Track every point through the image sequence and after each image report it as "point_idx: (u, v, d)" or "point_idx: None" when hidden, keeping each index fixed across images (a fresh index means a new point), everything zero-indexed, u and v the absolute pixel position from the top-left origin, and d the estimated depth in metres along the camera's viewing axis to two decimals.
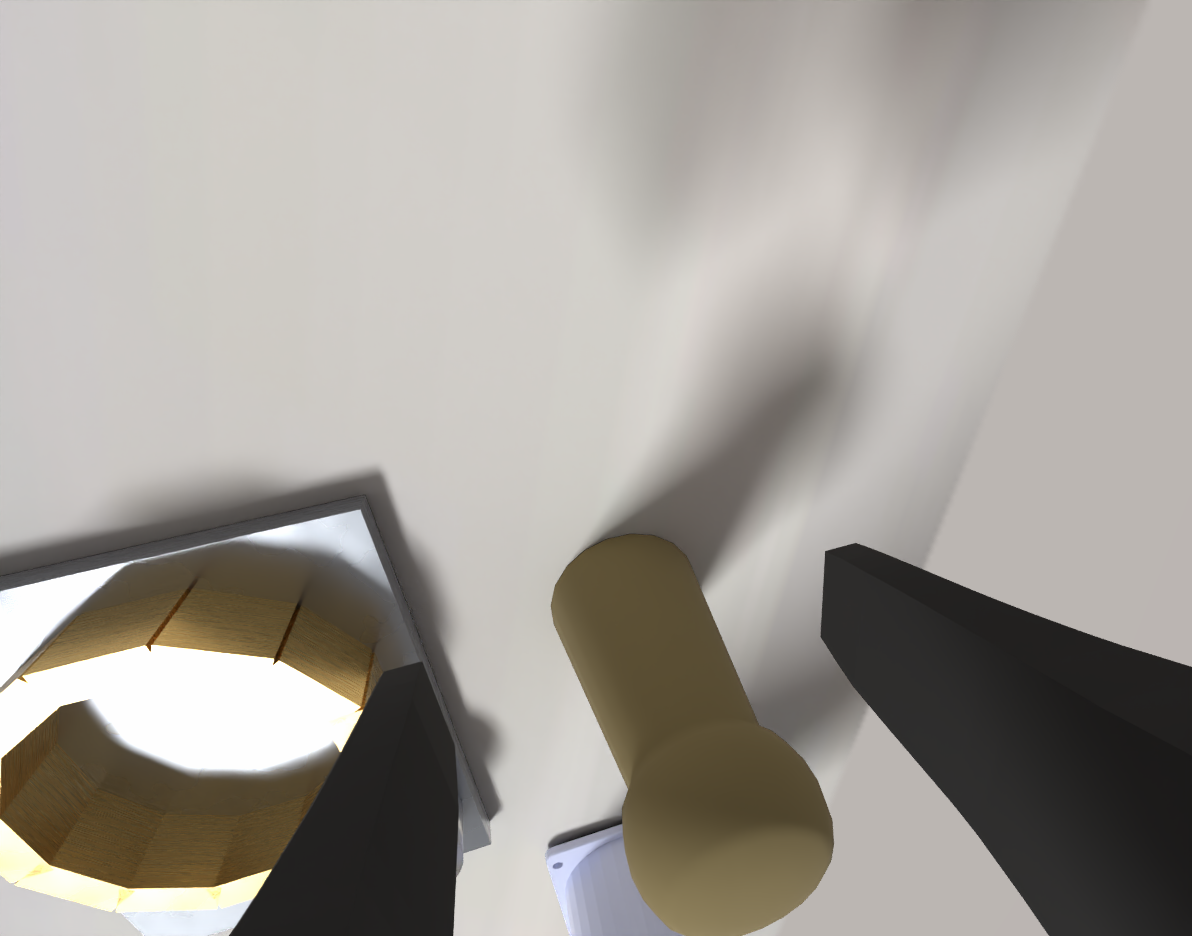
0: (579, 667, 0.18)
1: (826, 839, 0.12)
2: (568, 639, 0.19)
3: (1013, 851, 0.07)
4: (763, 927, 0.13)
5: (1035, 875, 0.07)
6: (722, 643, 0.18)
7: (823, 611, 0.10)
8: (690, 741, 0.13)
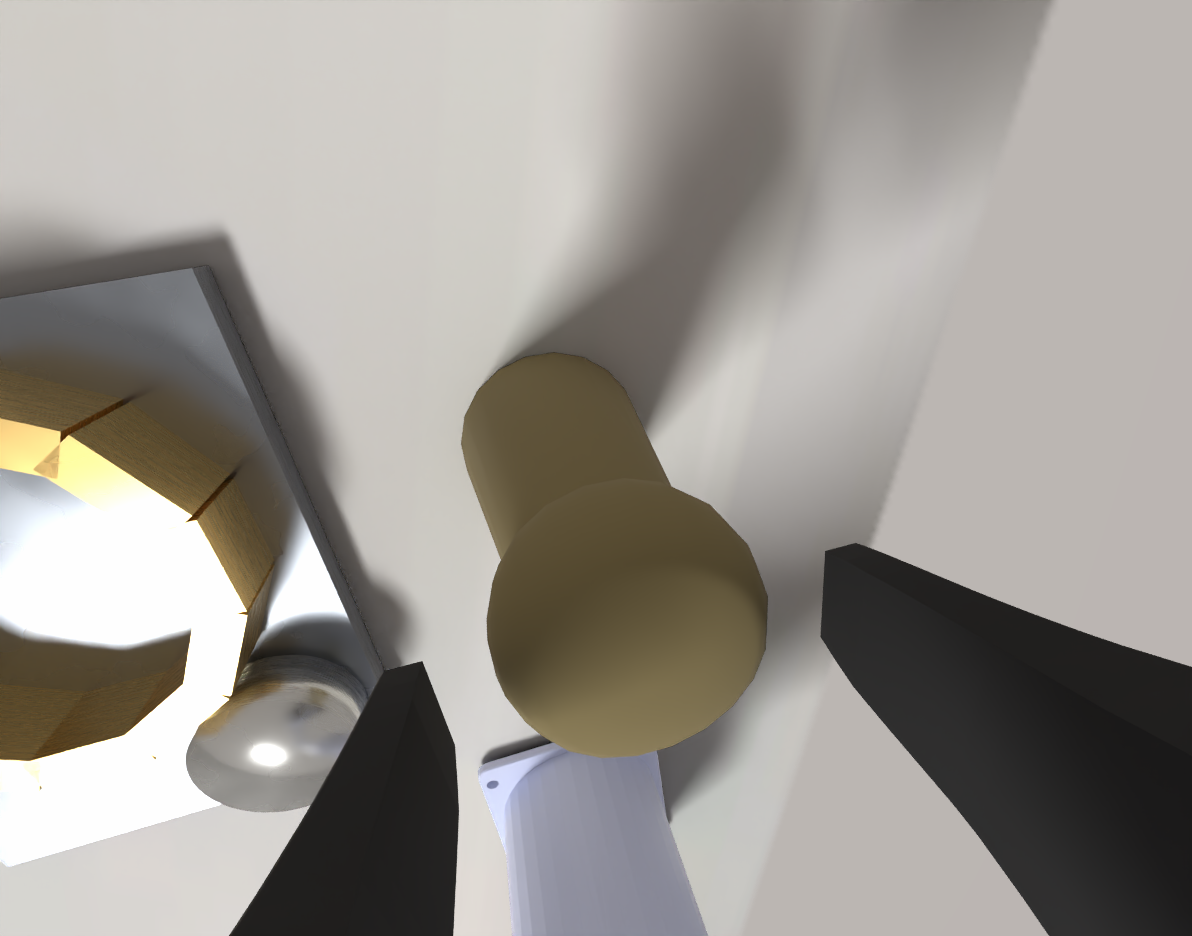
0: (478, 486, 0.15)
1: (753, 603, 0.09)
2: (471, 464, 0.16)
3: (1013, 851, 0.07)
4: (675, 743, 0.10)
5: (1035, 875, 0.07)
6: (651, 447, 0.14)
7: (823, 611, 0.10)
8: (575, 491, 0.10)
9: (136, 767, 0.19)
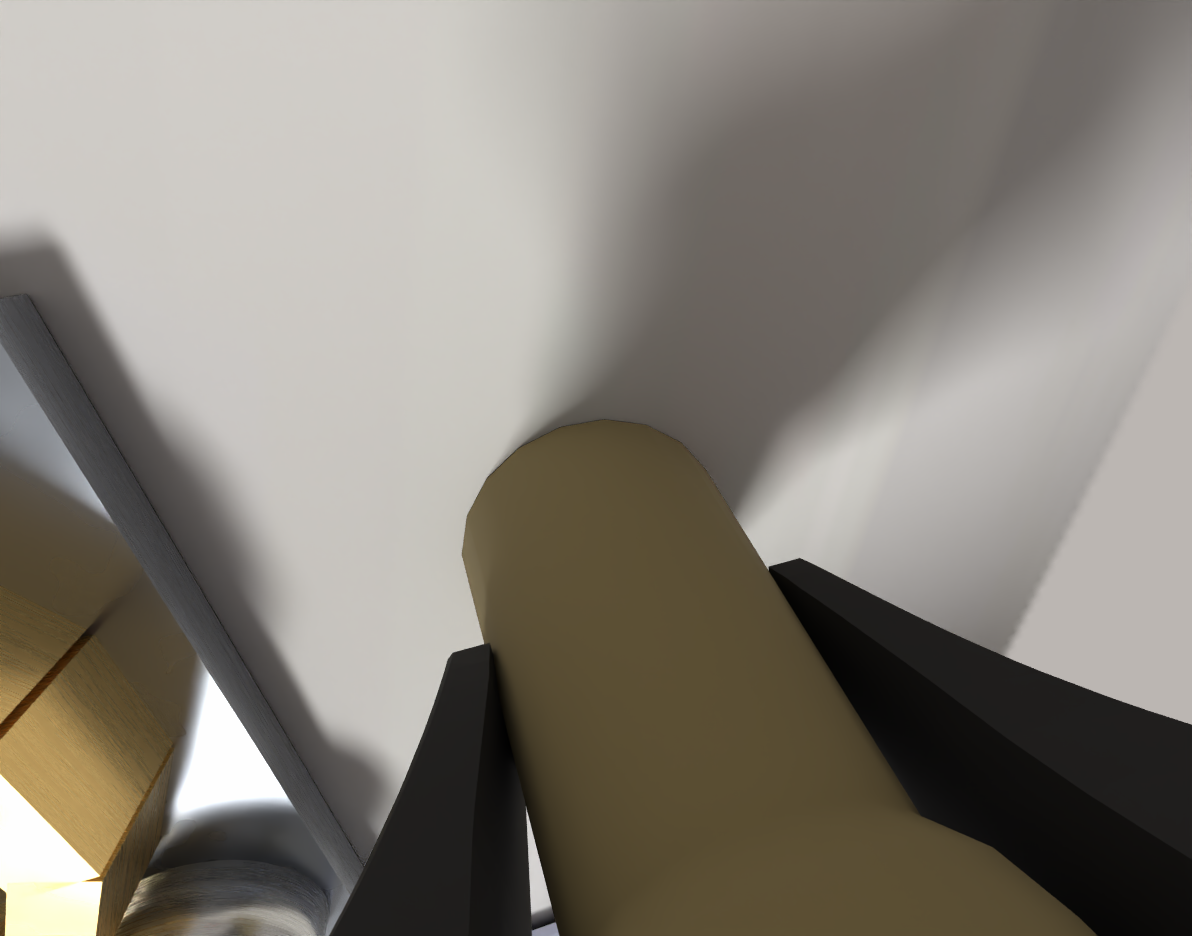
0: None
1: None
2: (478, 609, 0.10)
3: None
4: None
5: None
6: (791, 610, 0.08)
7: None
8: (757, 909, 0.04)
9: None
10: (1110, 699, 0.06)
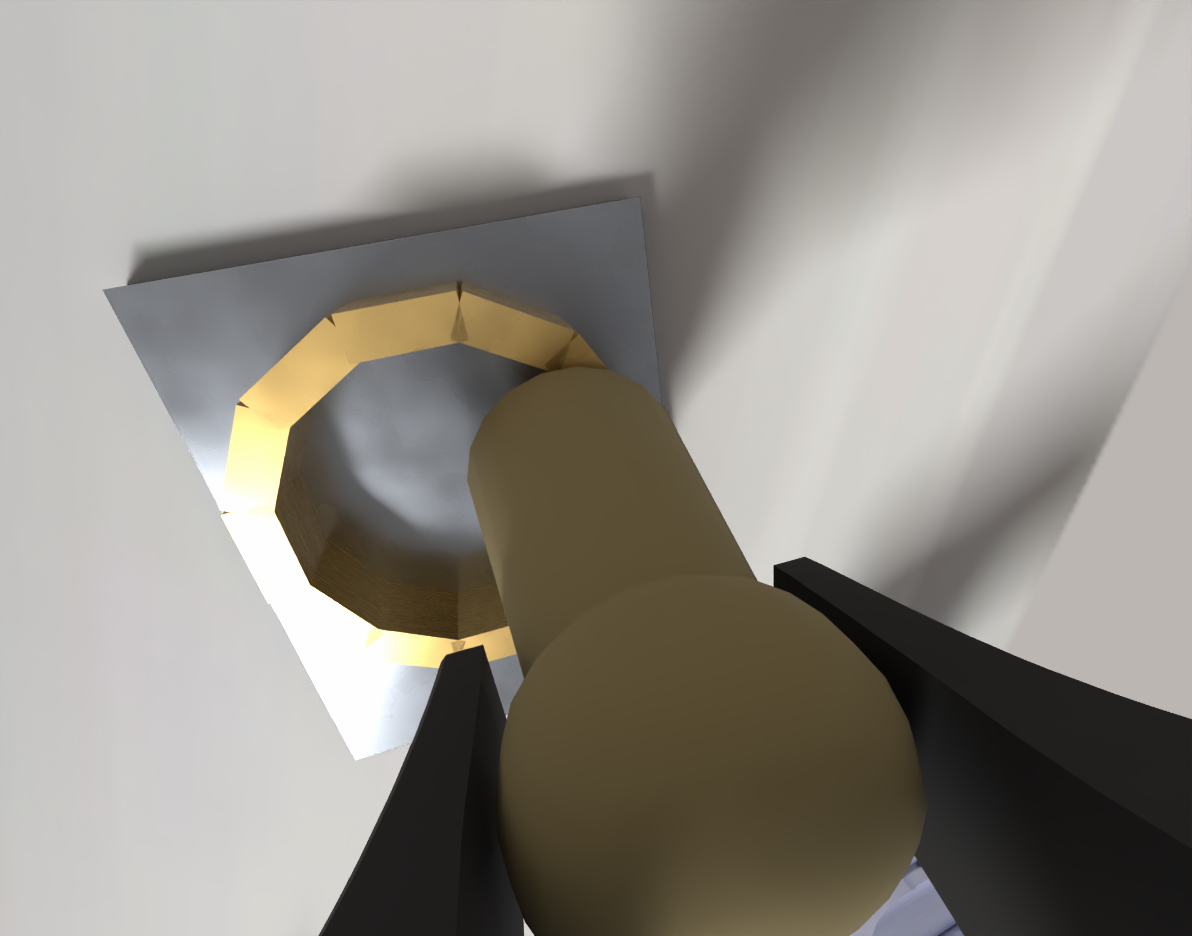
0: (486, 545, 0.12)
1: (914, 793, 0.06)
2: (479, 513, 0.13)
3: (947, 876, 0.07)
4: None
5: (966, 902, 0.07)
6: (709, 494, 0.11)
7: None
8: (622, 602, 0.07)
9: None
10: (1118, 697, 0.06)
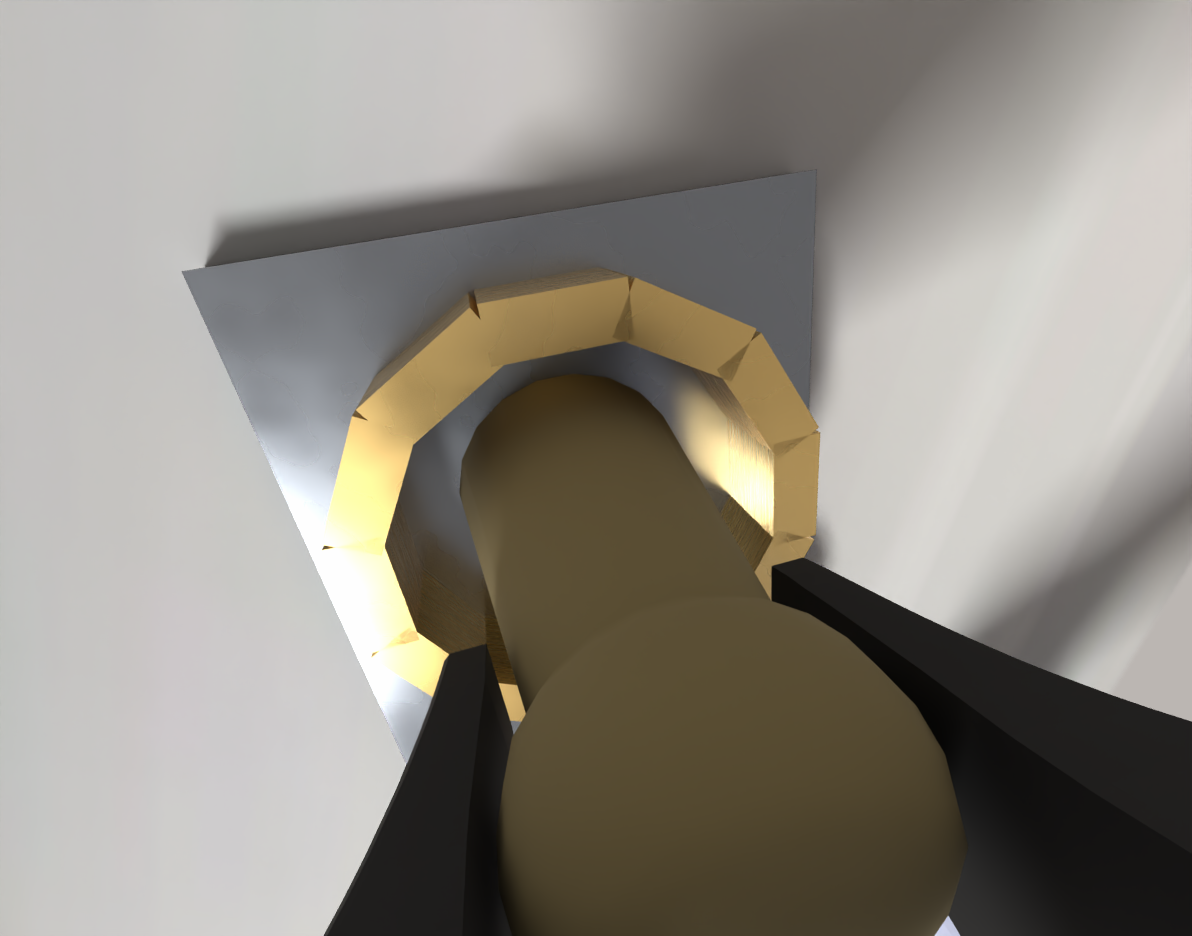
0: (481, 562, 0.11)
1: (956, 836, 0.05)
2: (472, 527, 0.12)
3: None
4: None
5: (964, 903, 0.07)
6: (713, 505, 0.10)
7: None
8: (631, 629, 0.06)
9: None
10: (1114, 698, 0.06)
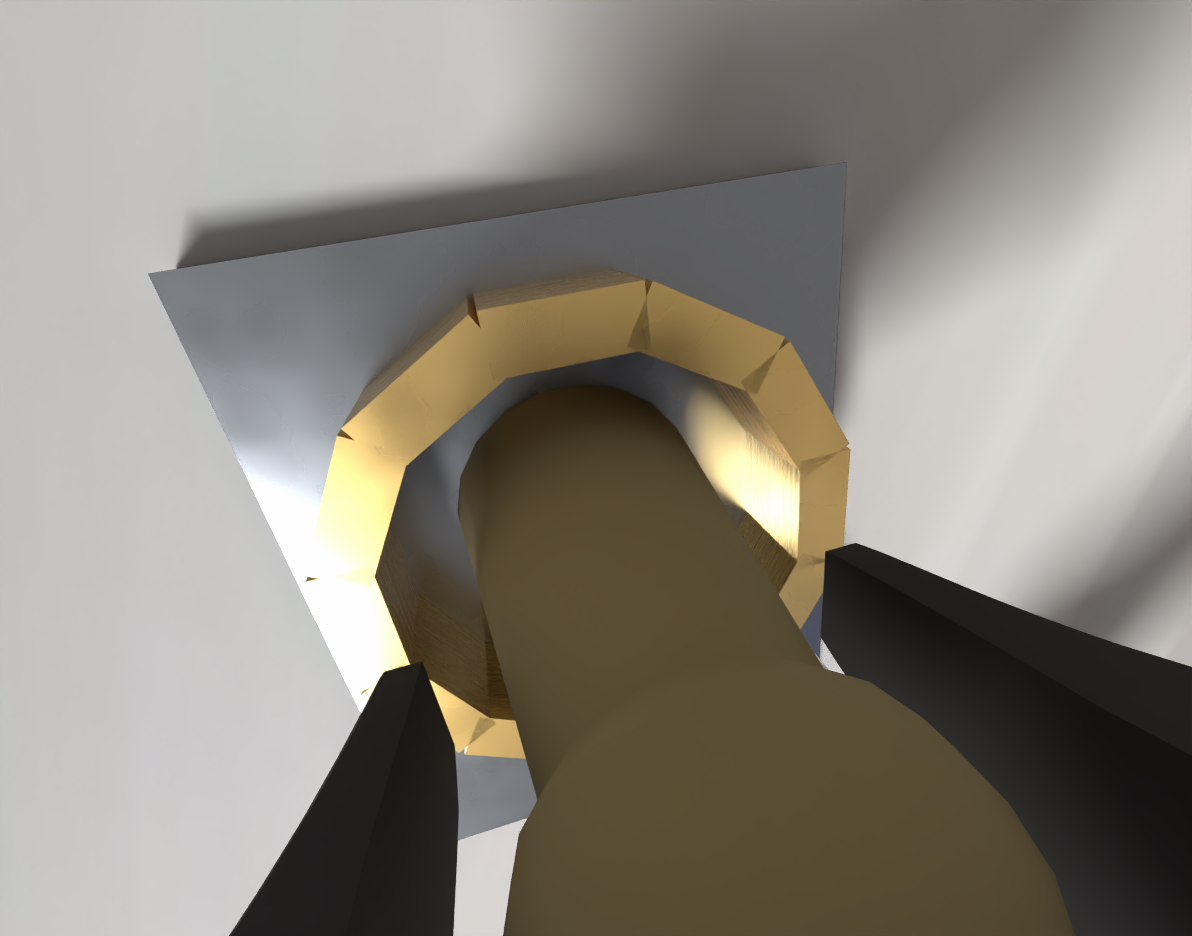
0: (481, 595, 0.10)
1: None
2: (471, 554, 0.11)
3: None
4: None
5: None
6: (740, 535, 0.09)
7: (823, 611, 0.10)
8: (665, 711, 0.05)
9: None
10: None
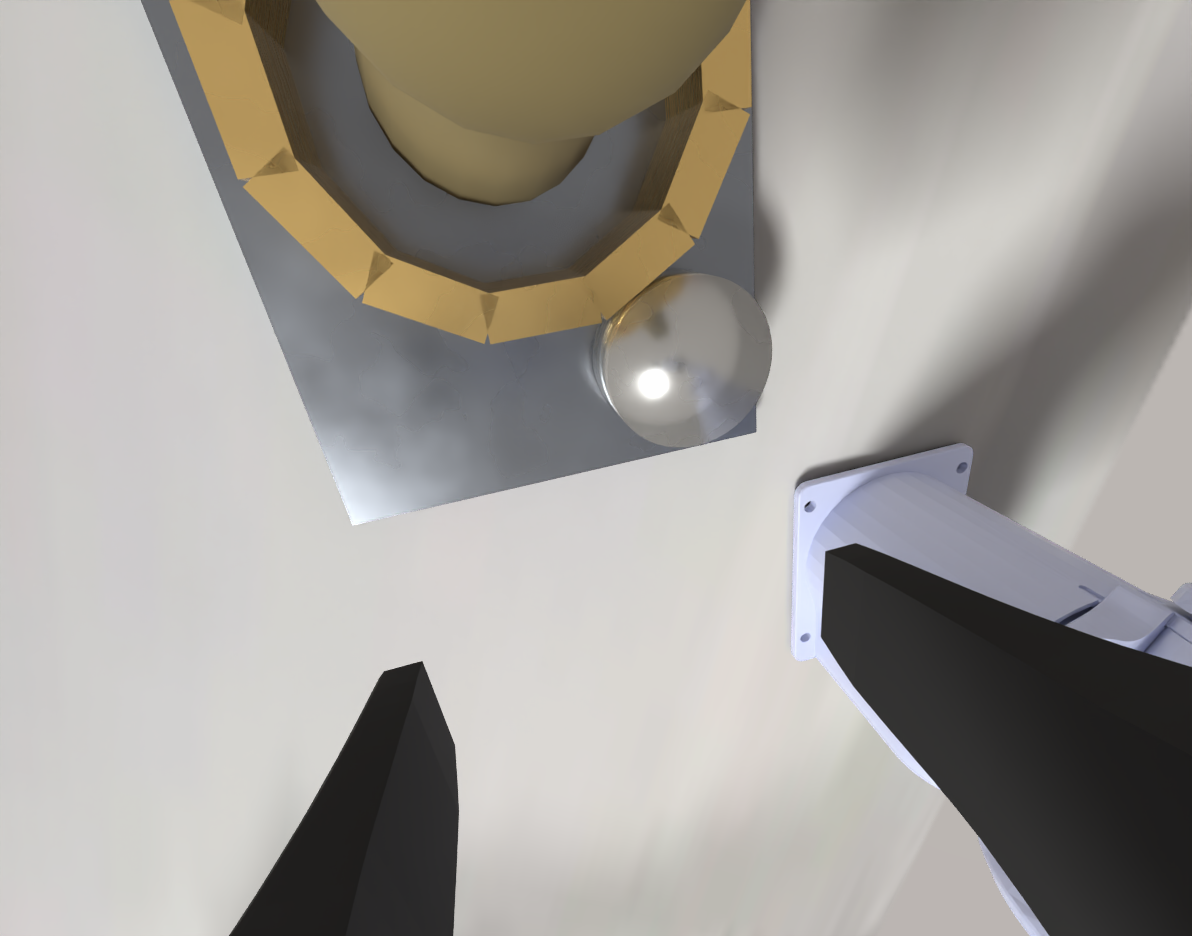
0: None
1: None
2: None
3: (1013, 851, 0.07)
4: (627, 6, 0.05)
5: (1035, 875, 0.07)
6: None
7: (823, 611, 0.10)
8: None
9: (505, 405, 0.17)
10: None
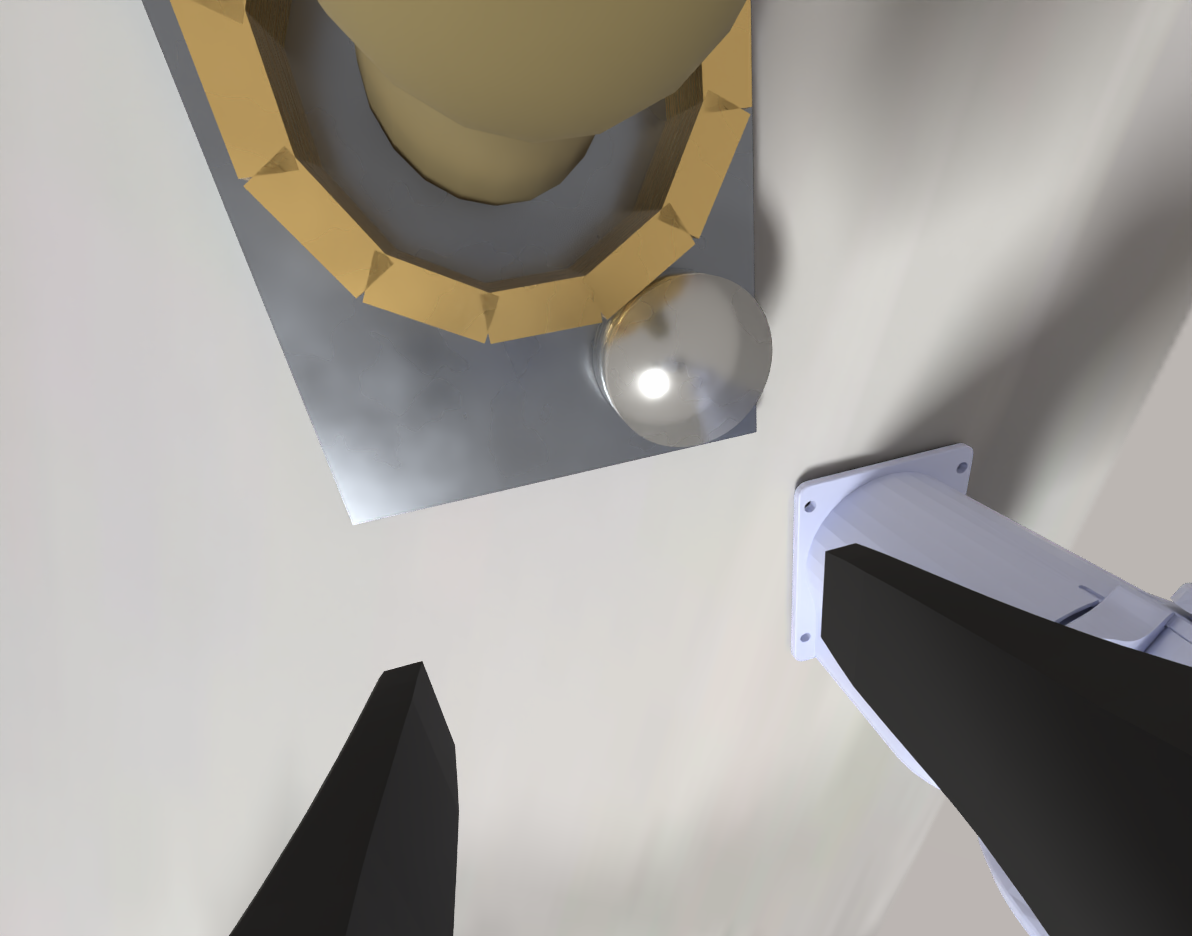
0: None
1: None
2: None
3: (1013, 851, 0.07)
4: (628, 5, 0.05)
5: (1035, 875, 0.07)
6: None
7: (823, 611, 0.10)
8: None
9: (505, 404, 0.17)
10: None
